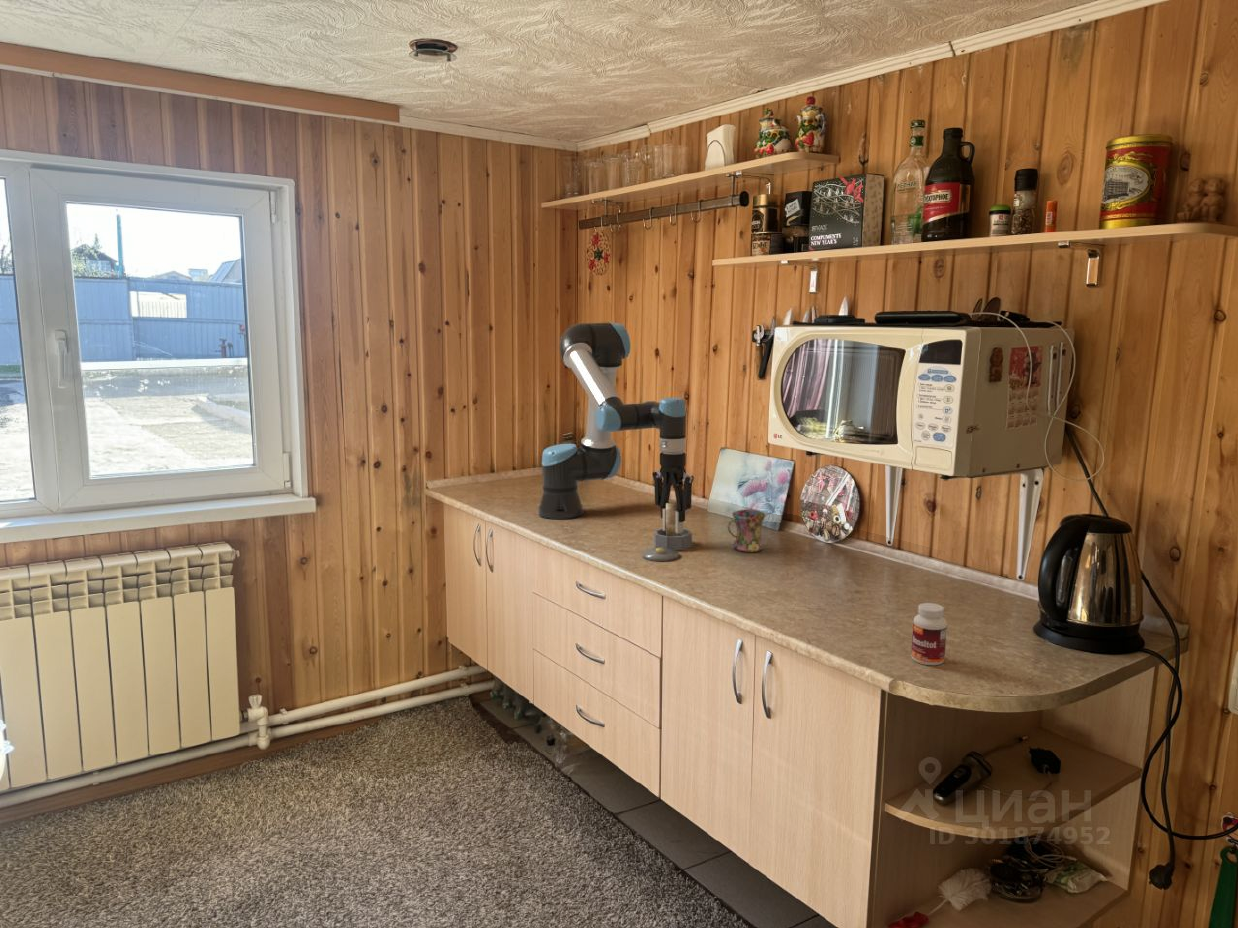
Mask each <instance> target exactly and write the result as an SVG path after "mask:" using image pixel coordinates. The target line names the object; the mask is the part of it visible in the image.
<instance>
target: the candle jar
mask: <svg viewBox="0 0 1238 928" xmlns="http://www.w3.org/2000/svg"><path fill="white" fill-rule="evenodd" d="M691 531H692V530H690V529H688V528H683V532H681V533H680V536H666V531H663V527H661V528H658V529H655V530H653V545H654V548H668V549H673V550H676V551H685V550H688V549H690V548H692V546H693V533H692V532H691Z"/></svg>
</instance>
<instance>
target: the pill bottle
mask: <svg viewBox="0 0 1238 928" xmlns="http://www.w3.org/2000/svg"><path fill="white" fill-rule="evenodd" d="M944 610H945V608H944V607H943V606H942V605H940V604H938V603H931V602H925V603H920V604H918V607H917V615H915V616H914V618H913V623H912V641H911V653H910V655H911V656H910V657H911V659H912V660H914V662H915V663H918V664H921V665H925V666H939V665H941V664H943V663H944V661H945V655H946V645H947V644H946V642H947V640H946V639H947V627H948V623H947V620H946V618H944V617H943V616H944V612H945V611H944Z"/></svg>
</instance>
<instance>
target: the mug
mask: <svg viewBox="0 0 1238 928" xmlns="http://www.w3.org/2000/svg"><path fill="white" fill-rule="evenodd" d="M732 517H733V519H734V520H733V519H732V520H730V521H728V523H727V526H726V527H727V530H728V533H730V535H731V536H732V537H733V538H736V539H735V541H734V544H733V548H734V549H735V550H737V551H739V552H745V553H746V552H747V553H754V552H755V553H756V552H759V551H761V550H763V548H764V545H763V543H762V537H761V535H762V534H761V533H762V532H761V530H762V526H763V522H764V520H765V517H766V513H765V512H764V511H761V510H755V509H740V510H735V511H733V512H732ZM732 523H735V526H736V535H735V534H733V532H732V531H731V528H730V526H731V524H732Z"/></svg>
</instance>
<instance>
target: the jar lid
mask: <svg viewBox="0 0 1238 928" xmlns="http://www.w3.org/2000/svg"><path fill="white" fill-rule="evenodd" d="M641 554H642V558H643V559H644V560H646V561H650V562H670V561H673V560H677V559H678V558H679V552H678V550H673V549H668V548H655V547H653V548H652V547H651V548H649V549H645V550H643V551H642V553H641Z"/></svg>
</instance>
